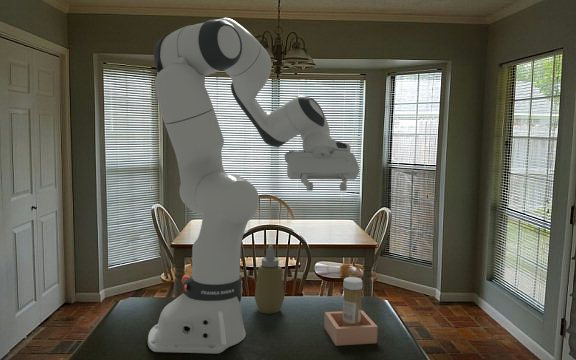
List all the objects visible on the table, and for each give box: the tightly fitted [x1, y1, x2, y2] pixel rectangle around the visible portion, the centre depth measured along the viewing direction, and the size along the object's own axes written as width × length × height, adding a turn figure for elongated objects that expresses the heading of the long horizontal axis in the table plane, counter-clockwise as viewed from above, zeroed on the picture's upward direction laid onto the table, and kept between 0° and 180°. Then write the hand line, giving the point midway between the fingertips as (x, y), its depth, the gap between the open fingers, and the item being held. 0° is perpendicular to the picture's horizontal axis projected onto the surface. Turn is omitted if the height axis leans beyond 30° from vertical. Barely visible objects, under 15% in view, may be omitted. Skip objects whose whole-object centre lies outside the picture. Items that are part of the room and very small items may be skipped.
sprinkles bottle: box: [342, 276, 364, 327], centre depth 112 cm, size 5×5×14 cm
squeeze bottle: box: [254, 244, 285, 315], centre depth 126 cm, size 8×8×18 cm
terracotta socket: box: [323, 309, 378, 347], centre depth 113 cm, size 10×10×4 cm
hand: (327, 189), depth 126 cm, fingers open, 8 cm apart
